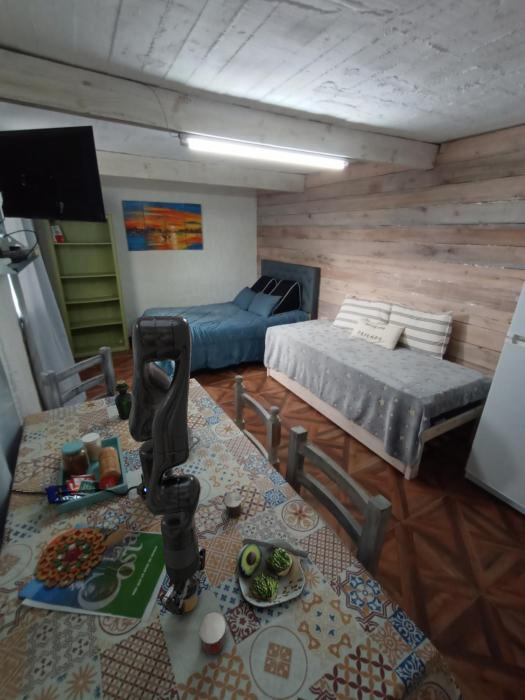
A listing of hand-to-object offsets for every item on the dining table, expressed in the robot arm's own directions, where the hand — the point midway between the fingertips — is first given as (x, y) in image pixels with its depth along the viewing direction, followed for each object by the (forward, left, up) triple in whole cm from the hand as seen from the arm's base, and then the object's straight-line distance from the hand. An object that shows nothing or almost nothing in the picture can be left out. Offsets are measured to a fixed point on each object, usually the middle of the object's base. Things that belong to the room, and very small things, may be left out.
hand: (187, 599), depth 76 cm
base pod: (-3, +27, 0) cm, 27 cm away
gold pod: (0, 0, 0) cm, 0 cm away
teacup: (-36, +44, -1) cm, 57 cm away
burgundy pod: (+10, -4, 0) cm, 11 cm away
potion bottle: (-76, +52, -1) cm, 92 cm away
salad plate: (+14, +15, -1) cm, 21 cm away
